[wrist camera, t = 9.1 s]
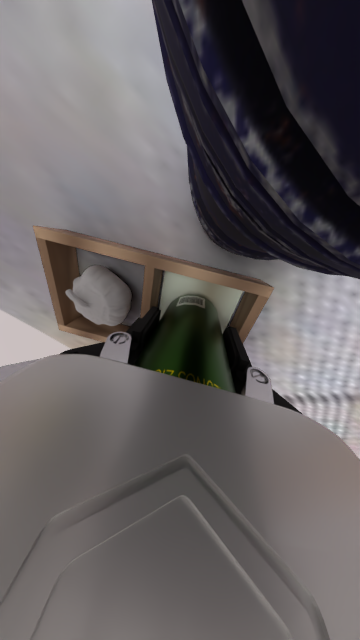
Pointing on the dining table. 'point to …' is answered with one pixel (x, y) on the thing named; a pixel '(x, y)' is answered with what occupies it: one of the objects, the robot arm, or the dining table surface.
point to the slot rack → (146, 283)
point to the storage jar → (270, 124)
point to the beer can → (189, 344)
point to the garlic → (101, 296)
